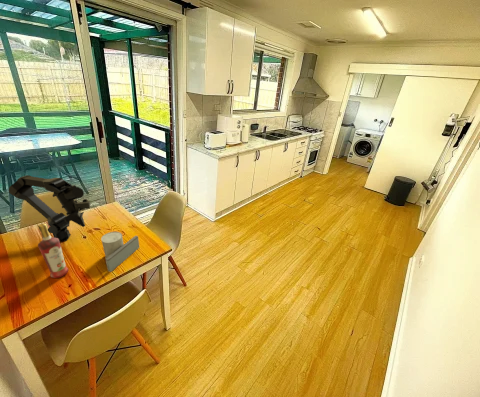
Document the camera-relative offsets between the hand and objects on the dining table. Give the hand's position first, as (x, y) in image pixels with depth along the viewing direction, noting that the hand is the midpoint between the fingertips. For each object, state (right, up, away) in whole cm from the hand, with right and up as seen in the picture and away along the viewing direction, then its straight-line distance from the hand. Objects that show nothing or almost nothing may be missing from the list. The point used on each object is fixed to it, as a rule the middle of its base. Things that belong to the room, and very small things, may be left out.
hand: (84, 226), depth 123 cm
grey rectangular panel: (+24, -17, -2) cm, 29 cm away
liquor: (-1, -21, -15) cm, 26 cm away
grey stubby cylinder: (+18, -16, -1) cm, 24 cm away
